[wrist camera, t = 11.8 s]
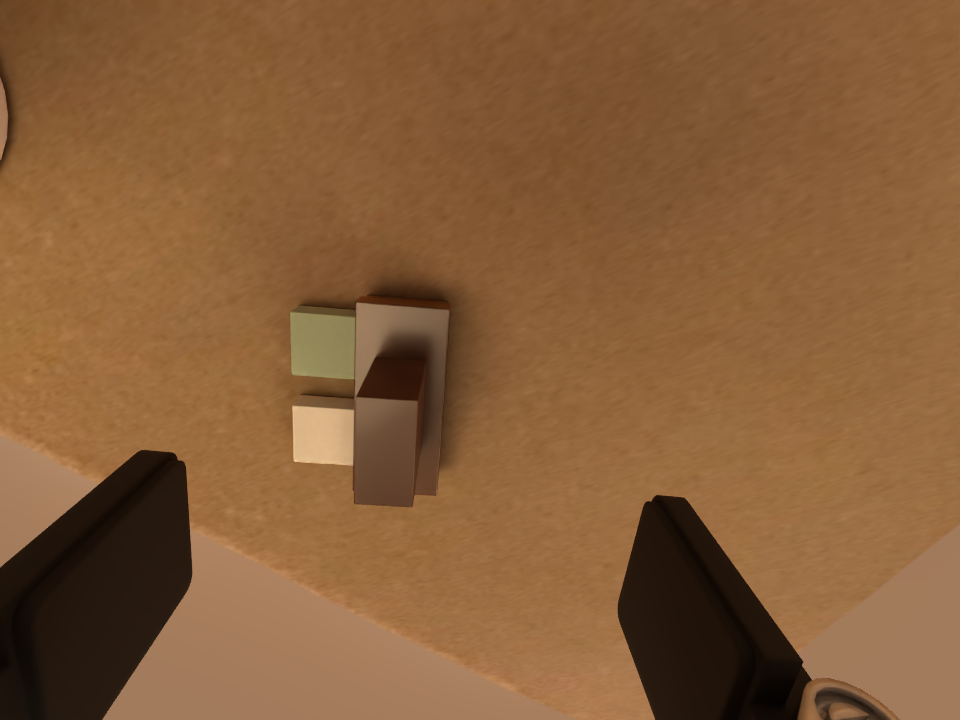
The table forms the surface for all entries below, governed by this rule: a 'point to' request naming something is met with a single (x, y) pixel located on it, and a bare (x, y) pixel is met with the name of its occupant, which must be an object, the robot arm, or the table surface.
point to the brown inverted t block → (398, 398)
